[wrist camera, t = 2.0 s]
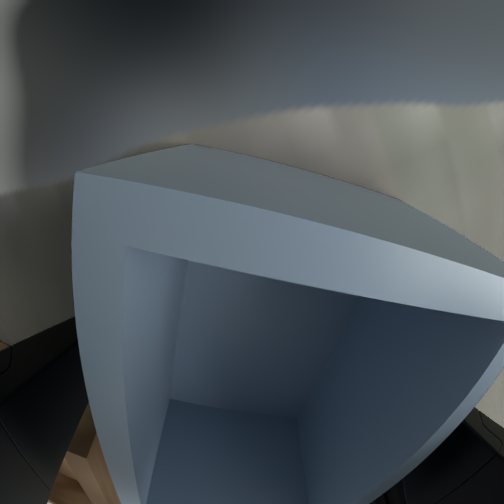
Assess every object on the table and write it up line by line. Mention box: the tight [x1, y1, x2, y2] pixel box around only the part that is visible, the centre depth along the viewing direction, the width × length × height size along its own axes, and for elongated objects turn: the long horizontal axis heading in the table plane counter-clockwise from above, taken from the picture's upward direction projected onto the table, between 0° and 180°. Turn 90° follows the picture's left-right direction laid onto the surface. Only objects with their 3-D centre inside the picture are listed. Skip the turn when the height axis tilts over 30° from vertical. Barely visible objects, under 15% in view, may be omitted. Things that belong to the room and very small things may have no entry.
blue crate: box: [72, 144, 504, 504], centre depth 7 cm, size 6×10×6 cm, turn 166°
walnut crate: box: [0, 341, 121, 504], centre depth 12 cm, size 11×15×4 cm
